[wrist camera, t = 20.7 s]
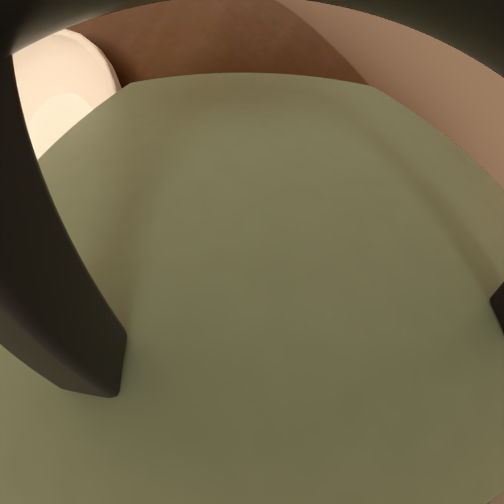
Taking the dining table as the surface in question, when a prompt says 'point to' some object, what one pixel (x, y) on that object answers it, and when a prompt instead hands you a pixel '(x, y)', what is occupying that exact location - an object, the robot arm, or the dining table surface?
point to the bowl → (61, 84)
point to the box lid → (250, 287)
